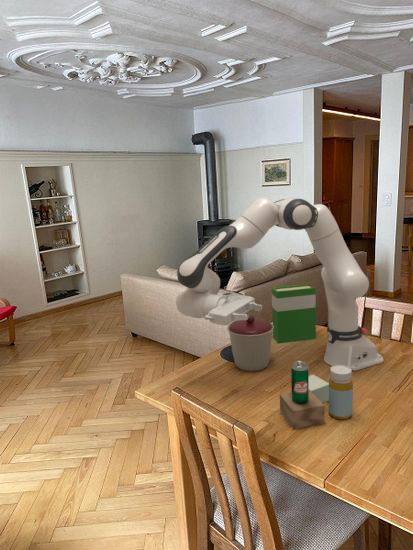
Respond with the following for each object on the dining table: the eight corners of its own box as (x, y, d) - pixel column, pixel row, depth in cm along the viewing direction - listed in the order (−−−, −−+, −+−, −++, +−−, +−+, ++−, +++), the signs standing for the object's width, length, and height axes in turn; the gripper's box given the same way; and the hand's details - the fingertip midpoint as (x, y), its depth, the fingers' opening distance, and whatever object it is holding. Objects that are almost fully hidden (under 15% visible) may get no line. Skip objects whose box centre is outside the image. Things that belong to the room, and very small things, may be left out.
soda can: (294, 405, 122) (293, 368, 120) (290, 396, 127) (289, 361, 125) (310, 404, 123) (310, 367, 120) (306, 395, 128) (305, 359, 125)
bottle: (352, 409, 129) (353, 365, 126) (352, 421, 123) (353, 376, 119) (329, 406, 131) (329, 363, 128) (328, 418, 125) (328, 373, 122)
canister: (225, 375, 157) (222, 323, 152) (233, 355, 174) (231, 307, 169) (272, 377, 153) (271, 324, 148) (276, 357, 170) (275, 308, 165)
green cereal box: (309, 333, 192) (309, 283, 187) (315, 339, 185) (315, 287, 180) (273, 337, 190) (271, 287, 185) (278, 343, 183) (276, 291, 177)
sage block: (313, 390, 142) (313, 374, 141) (329, 400, 135) (330, 384, 134) (295, 397, 139) (294, 380, 137) (311, 407, 132) (311, 390, 130)
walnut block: (309, 406, 132) (309, 389, 131) (324, 423, 123) (324, 405, 121) (280, 411, 130) (279, 394, 129) (293, 429, 121) (292, 411, 120)
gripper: (199, 308, 130) (238, 313, 122) (232, 291, 146) (267, 294, 138) (201, 327, 131) (239, 333, 124) (233, 307, 148) (268, 312, 140)
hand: (254, 312), depth 131 cm, fingers open, 8 cm apart
